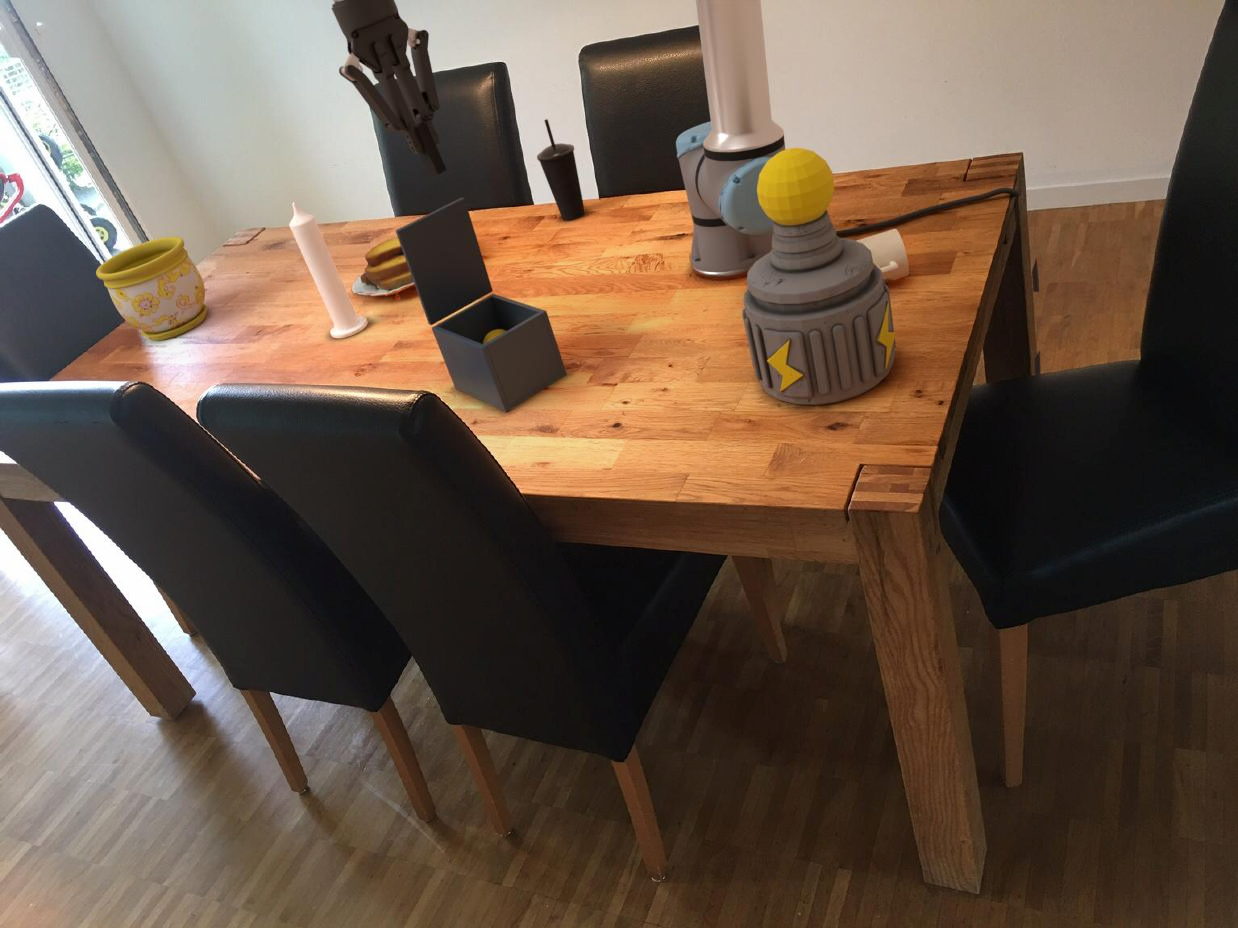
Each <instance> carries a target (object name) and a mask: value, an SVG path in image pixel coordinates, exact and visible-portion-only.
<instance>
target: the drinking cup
mask: <svg viewBox="0 0 1238 928" xmlns="http://www.w3.org/2000/svg"><path fill="white" fill-rule="evenodd" d="M544 124H545V127H546V131H547V134H548V138H549V141H550V145H549V146H546V147H545V148H544V149H542V151H541V152H539V153H538V154H537V155H536V159H537V161H538V162H539V163H540V166H541V168H542V171H543V173H544V176H545V178H546V181H547V184H548V186H549V189H550V191H551V194H552V196H553V199H554V201H555V203H556V206H557V209H558V211H559V214H560V216H561V217H560V218H561V219H562V221H565V222H568V221H569V222H571V221H575V220H579V219H580V218H582V217H583V216H585V214H586V211H585V205H584V200H583V195H582V189H581V184H580V179H579V173H578V169H577V162H576V157H575V152H574V151H575V147H574V145H573V144H570V143H556V142H555V139H554V136H553V133H552V129H551V126H550V123H549V119H548V118H547V119H544Z"/></svg>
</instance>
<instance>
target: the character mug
mask: <svg viewBox="0 0 1238 928" xmlns="http://www.w3.org/2000/svg"><path fill="white" fill-rule="evenodd" d="M899 232H900V231H899V230H898V229H896V228H893V229H889V230H886V231H882V232H880V233H876V234H873V235H870V236H867V237H863V238H860V239H857V240H856V241H857V242H860V243H863V244H864V245H865V246H866V247H867V248H868V249H869V250H870V251H871V254H872V258H873V263H874V264H875V265H876V266H877V267H878V268H879V269H880V270H881V271H882V277H883V279H884V281H885V283H887V282H892V281H896V280H899V279H902V278H905V277H908V276H909V273H910V268H909V267H910V266H909V261H908V255H907V251H906V248H905V244H904V241H903V239H902V236H901V234H900V233H899Z"/></svg>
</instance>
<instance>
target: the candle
mask: <svg viewBox="0 0 1238 928" xmlns="http://www.w3.org/2000/svg"><path fill="white" fill-rule="evenodd" d="M291 205H292V209H293V210H292V211H293V217H292V218H291V220H290V222H289V224H288V226H289V228H290V231H291V233H292V235H293V237H294V239H295V242H296V244H297V246H298V248H299V251H300V252H301V255H302V258H303V260H304V261H305V263H306V266H307V269H308V270H309V272H310V275H311V277H312V279H313V281H314V284H315V286H316V288H317V290H318V292H319V295H320V297H321V299H322V301H323V303H324V305H325V308H326V310H327V312H328V314H329V317H330V319H331V321H332V323H333V327H331V329H330V331H329V333H330V336H331V337H332V338H333V339H346V338H349V337H352V336H354V335H356V334H358V333H360V332H361V331H363V330H365V328H366V327H367V325H368V319H367V318H366V317H365V316H358V315H357V312H356V310H355V308H354V305H353V303H352V301H351V299H350V296H349V293H348V292H347V289H346V287H345V284H344V282H343V280H342V278H341V277H342V276H341V275H340V273H339V270H338V268H337V266H336V264H335V261H334V260H333V257H332V255H331V253H330V250H329V248H328V245H327V243H326V241H325V239H324V237H323V234H322V232H321V230H320V227H319V225H318V223H317V221H316V218H315V216H314V215H312V214H309V213H306V212H304V211H302V210H301V209H300V207H299V206H298V204H297V203H296V202H292V204H291Z"/></svg>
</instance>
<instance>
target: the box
mask: <svg viewBox="0 0 1238 928" xmlns="http://www.w3.org/2000/svg"><path fill="white" fill-rule="evenodd" d="M496 329H503V330H506V332H504V333H503V334H501V335H499V336H497V337H496V338H494V339H492V340H491V341H489V342H487V343H485V344H484V345H483V340H484V338H485V336H486V335H487V334H488V333H489V332H491V331H493V330H496ZM431 330H432V333H433V335H434V338H435V342H436V344H437V346H438V348H439V351H440V354H441V356H442V359H443V361H444V363H445V366H446V368H447V371H448V374H449V377H450V379H451V381H452V384H453V386H454V389H455V390H458V391H460V392H462V393H463V394H466V395H468V396H470V397H472V398H475V399H476V400H478V401H480V402H483V403H484V404H487V405H489V406H491V407H494V408H496V409H498V410H500V411H502V412H504V413H507V412H509V411H512V409H515V407H518V406H519V405H521V404H523V402H525V401H527V400H529V399H530V398H532V397H533V396H535V395H536V394H538V393H540V392H541V391H543V390H545V389H546V388H547V387H549V386H551V385H553V384H554V383H556V382H557V381H559V380H561V379H563V378H564V377H566V376H567V375H568V374H567V370H566V366H565V363H564V361H563V357H562V355H561V352H560V348H559V346H558V342H557V340H556V336H555V334H554V330H553V327H552V324H551V320H550V318H549V314H548V312H547V310H545V309H542V308H539V307H537V306H533V305H529V304H527V303H523V302H520V301H517V300H514V299H511V298H508V297H506V296H503V295H498V294H496V293H490V294H488V295H486V297H483V298H481V299H479V300H477V302H474V303H473V304H472V305H471V304H470V305H468V306H467V307H465V308H463V309H461V310H460V311H459V312H457V313H454V314H452V316H450V317H447V318H445V319H443V321H441V322H439V323H436V325H434V326H432V327H431Z"/></svg>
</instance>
